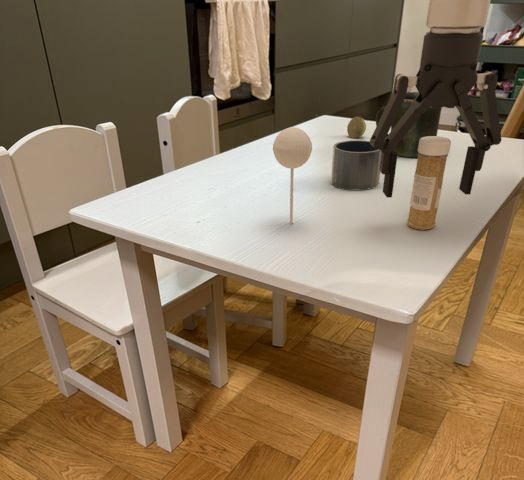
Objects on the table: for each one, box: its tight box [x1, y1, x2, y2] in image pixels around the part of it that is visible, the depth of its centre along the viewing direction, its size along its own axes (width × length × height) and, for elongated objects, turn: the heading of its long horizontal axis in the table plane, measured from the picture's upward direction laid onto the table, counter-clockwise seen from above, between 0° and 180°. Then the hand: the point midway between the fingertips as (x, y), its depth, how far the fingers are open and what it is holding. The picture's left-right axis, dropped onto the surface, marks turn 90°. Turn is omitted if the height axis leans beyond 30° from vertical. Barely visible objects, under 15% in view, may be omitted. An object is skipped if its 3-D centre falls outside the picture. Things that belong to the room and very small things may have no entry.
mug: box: [375, 91, 443, 158], centre depth 114 cm, size 11×15×12 cm
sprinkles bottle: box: [406, 135, 452, 231], centre depth 78 cm, size 5×5×13 cm
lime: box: [346, 115, 367, 139], centre depth 129 cm, size 4×5×5 cm
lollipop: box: [272, 126, 313, 225], centre depth 79 cm, size 6×6×15 cm
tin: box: [331, 139, 381, 190], centre depth 98 cm, size 9×9×7 cm
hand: (425, 193), depth 79 cm, fingers open, 12 cm apart
